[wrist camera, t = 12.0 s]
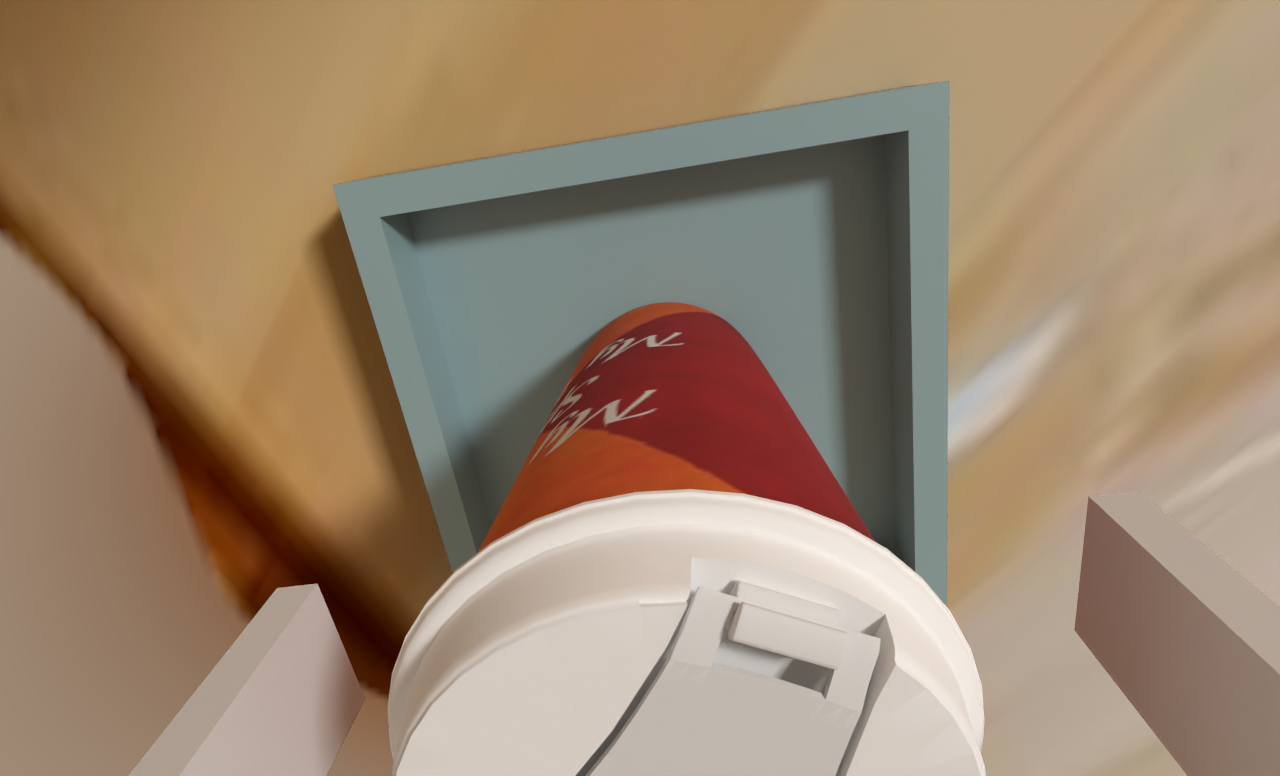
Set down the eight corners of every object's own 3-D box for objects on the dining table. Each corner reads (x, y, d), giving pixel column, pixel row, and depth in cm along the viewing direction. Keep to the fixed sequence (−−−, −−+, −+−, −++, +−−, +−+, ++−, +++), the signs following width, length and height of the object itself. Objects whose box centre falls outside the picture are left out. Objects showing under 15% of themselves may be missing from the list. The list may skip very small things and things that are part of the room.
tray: (370, 177, 21) (332, 184, 18) (913, 85, 19) (949, 81, 17) (494, 605, 26) (477, 655, 24) (918, 556, 25) (946, 603, 23)
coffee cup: (582, 227, 20) (419, 462, 6) (838, 312, 21) (1185, 688, 7) (513, 464, 23) (299, 974, 9) (739, 531, 24) (849, 1097, 10)
